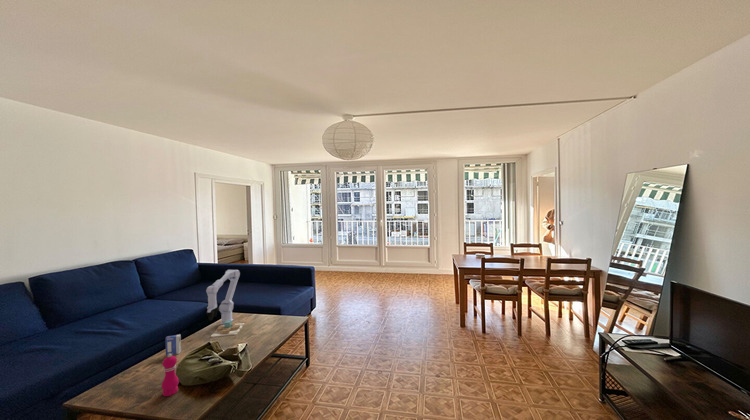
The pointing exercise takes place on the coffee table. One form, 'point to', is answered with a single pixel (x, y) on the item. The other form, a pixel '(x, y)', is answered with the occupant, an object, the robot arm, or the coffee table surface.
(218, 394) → the coffee table surface
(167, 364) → the pepper mill
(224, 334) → the board
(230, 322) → the piece
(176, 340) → the walkman
